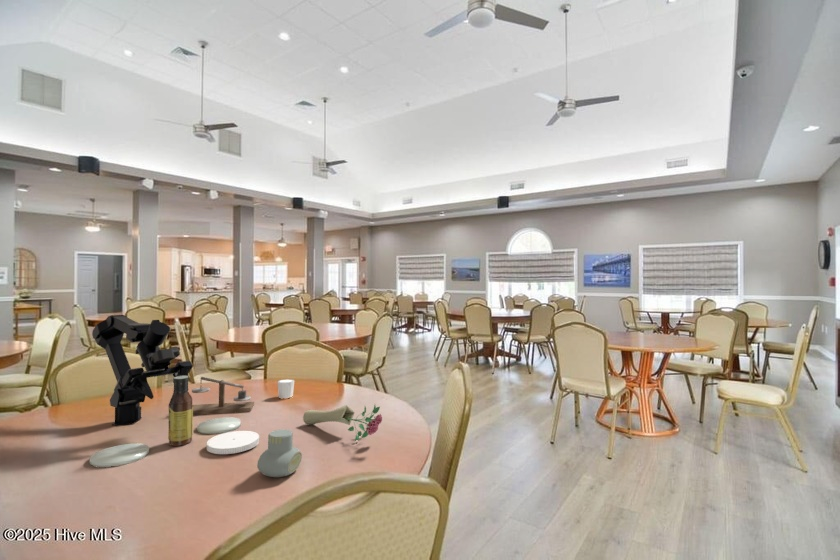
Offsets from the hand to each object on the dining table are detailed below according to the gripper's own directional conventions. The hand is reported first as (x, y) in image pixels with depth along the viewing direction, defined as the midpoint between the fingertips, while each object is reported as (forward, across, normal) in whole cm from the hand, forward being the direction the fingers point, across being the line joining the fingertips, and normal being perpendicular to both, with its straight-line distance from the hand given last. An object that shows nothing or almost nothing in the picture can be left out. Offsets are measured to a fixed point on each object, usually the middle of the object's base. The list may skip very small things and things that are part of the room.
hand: (168, 394), depth 125 cm
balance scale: (0, +26, +18) cm, 31 cm away
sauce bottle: (+15, 0, +4) cm, 15 cm away
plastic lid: (+26, +7, -6) cm, 28 cm away
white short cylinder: (+5, +51, +14) cm, 53 cm away
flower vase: (+40, +32, -21) cm, 55 cm away
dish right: (+12, +14, +7) cm, 20 cm away
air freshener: (+43, +4, -24) cm, 50 cm away
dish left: (+12, -14, +7) cm, 20 cm away
